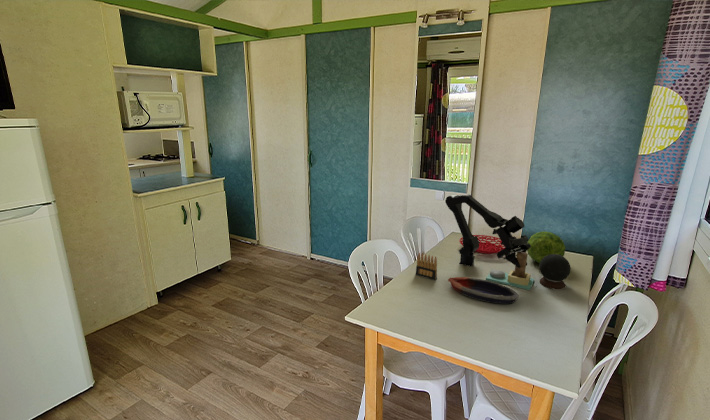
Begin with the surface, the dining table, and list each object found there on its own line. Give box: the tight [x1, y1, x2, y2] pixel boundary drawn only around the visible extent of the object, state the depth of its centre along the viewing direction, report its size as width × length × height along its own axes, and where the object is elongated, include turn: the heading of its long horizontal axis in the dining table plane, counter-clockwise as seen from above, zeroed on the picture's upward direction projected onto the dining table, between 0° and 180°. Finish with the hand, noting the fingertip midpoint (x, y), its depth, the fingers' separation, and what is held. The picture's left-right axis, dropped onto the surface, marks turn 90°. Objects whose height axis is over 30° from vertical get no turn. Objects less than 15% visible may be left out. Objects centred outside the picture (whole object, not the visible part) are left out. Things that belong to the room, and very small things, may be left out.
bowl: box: [459, 234, 505, 255], centre depth 222 cm, size 29×29×5 cm
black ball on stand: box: [538, 254, 572, 290], centre depth 178 cm, size 13×13×15 cm
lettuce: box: [526, 230, 566, 265], centre depth 204 cm, size 19×23×18 cm
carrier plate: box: [485, 269, 535, 291], centre depth 183 cm, size 20×12×4 cm, turn 57°
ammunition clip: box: [415, 252, 438, 281], centre depth 185 cm, size 11×2×12 cm, turn 55°
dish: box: [447, 276, 519, 305], centre depth 168 cm, size 16×31×5 cm, turn 55°
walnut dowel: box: [514, 252, 528, 278], centre depth 179 cm, size 5×5×13 cm
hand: (523, 266), depth 178 cm, fingers closed on walnut dowel, 5 cm apart
